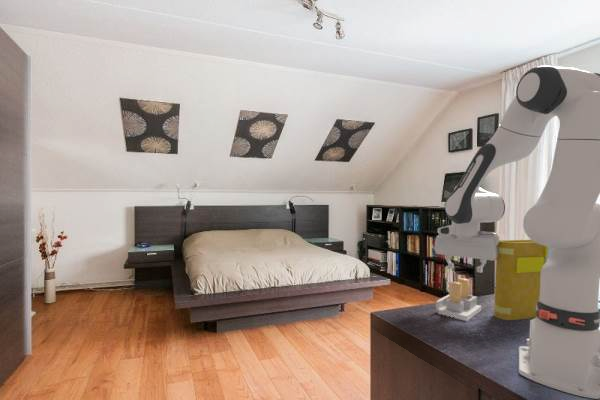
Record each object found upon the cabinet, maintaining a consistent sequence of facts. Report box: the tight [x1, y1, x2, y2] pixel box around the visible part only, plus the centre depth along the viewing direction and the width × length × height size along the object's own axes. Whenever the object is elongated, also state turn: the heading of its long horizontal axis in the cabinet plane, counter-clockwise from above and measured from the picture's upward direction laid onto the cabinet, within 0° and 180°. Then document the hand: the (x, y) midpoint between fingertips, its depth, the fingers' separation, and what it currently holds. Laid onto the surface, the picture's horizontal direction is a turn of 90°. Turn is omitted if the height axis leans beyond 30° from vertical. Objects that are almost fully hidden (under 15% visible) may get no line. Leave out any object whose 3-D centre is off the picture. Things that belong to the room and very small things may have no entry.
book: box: [493, 238, 549, 321], centre depth 117 cm, size 17×7×25 cm, turn 108°
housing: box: [435, 281, 482, 322], centre depth 119 cm, size 15×10×10 cm, turn 137°
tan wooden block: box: [457, 277, 470, 300], centre depth 121 cm, size 4×4×9 cm
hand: (464, 270), depth 121 cm, fingers open, 8 cm apart
